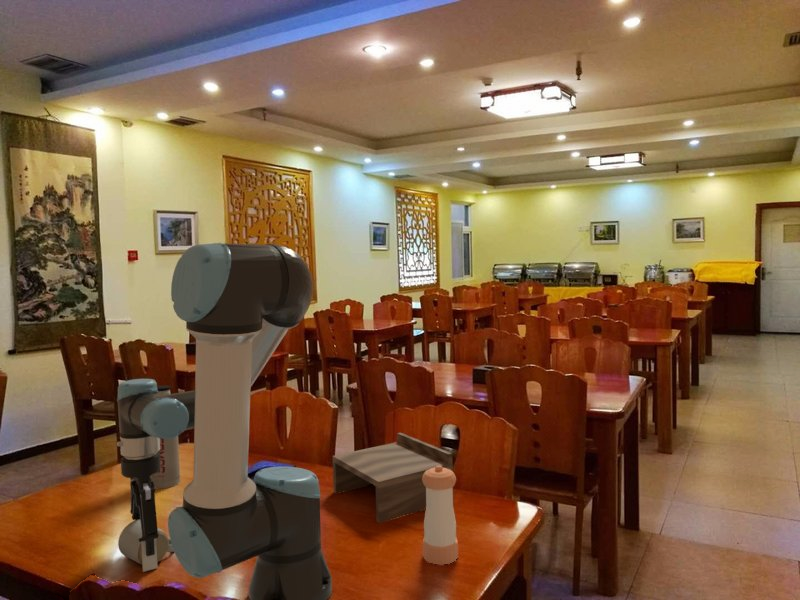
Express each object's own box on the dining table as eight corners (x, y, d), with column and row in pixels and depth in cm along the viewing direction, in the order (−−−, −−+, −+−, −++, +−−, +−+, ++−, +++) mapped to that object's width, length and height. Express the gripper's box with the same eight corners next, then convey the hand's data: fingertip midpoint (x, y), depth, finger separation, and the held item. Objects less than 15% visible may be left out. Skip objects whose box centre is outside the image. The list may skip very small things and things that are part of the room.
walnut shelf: (453, 501, 150) (452, 453, 150) (379, 523, 138) (378, 471, 138) (401, 475, 170) (400, 432, 170) (333, 492, 158) (332, 446, 158)
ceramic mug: (139, 573, 118) (138, 535, 117) (118, 562, 123) (116, 525, 122) (186, 553, 126) (185, 517, 126) (164, 543, 131) (163, 509, 131)
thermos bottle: (167, 489, 163) (163, 390, 161) (143, 487, 165) (139, 388, 164) (186, 479, 170) (181, 384, 169) (163, 477, 173) (158, 383, 171)
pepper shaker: (436, 545, 127) (434, 457, 126) (464, 554, 122) (463, 464, 121) (415, 558, 121) (413, 467, 120) (444, 569, 117) (443, 474, 116)
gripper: (113, 444, 129) (118, 543, 130) (129, 472, 111) (135, 588, 112) (149, 438, 133) (154, 534, 134) (171, 464, 115) (176, 576, 116)
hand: (145, 559), depth 123 cm, fingers open, 9 cm apart
